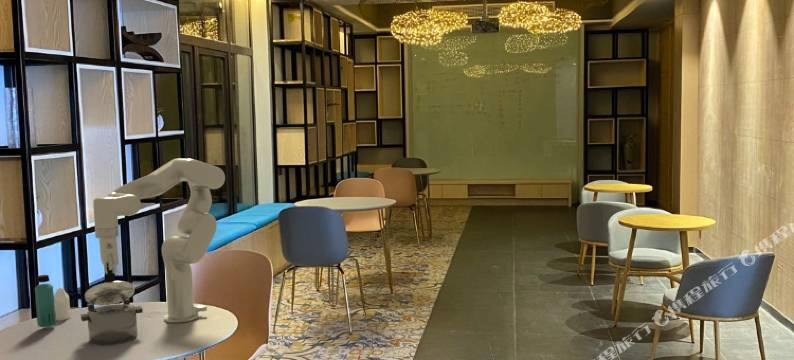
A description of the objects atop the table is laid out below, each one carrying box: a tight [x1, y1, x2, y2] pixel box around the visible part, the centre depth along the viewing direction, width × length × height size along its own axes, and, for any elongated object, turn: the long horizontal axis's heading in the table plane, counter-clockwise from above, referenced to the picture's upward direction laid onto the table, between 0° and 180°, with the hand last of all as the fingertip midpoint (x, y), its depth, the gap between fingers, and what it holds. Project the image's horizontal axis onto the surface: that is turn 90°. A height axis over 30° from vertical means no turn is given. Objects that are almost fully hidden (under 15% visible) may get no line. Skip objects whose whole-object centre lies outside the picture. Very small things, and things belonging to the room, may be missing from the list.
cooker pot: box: [80, 298, 144, 346], centre depth 273 cm, size 20×17×11 cm
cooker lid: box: [84, 280, 136, 306], centre depth 274 cm, size 16×16×4 cm
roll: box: [54, 287, 71, 322], centre depth 300 cm, size 6×12×6 cm
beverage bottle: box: [34, 274, 57, 328], centre depth 286 cm, size 6×7×20 cm
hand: (110, 284), depth 270 cm, fingers closed
